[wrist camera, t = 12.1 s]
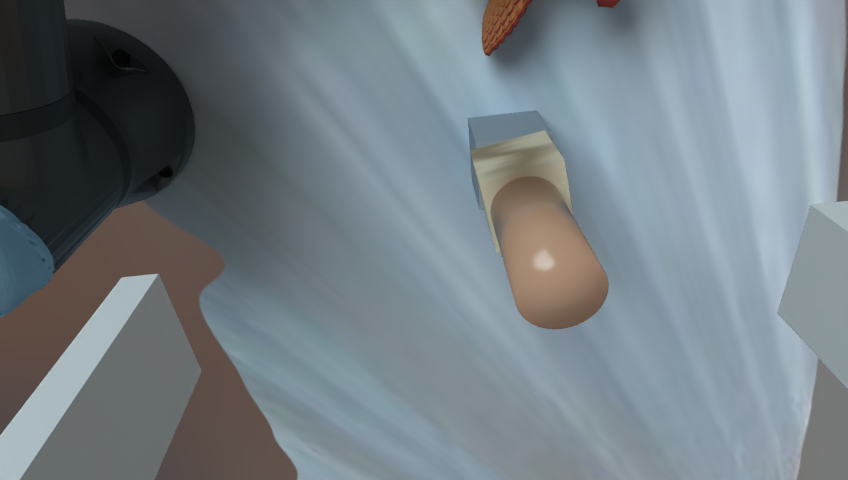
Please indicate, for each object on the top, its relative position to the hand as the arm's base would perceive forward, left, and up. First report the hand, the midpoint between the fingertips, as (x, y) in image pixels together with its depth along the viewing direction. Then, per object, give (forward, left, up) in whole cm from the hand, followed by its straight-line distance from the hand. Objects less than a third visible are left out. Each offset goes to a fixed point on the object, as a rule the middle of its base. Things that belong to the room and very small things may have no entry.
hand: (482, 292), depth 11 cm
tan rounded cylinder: (+6, -12, -25) cm, 28 cm away
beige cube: (+6, -12, -31) cm, 34 cm away
